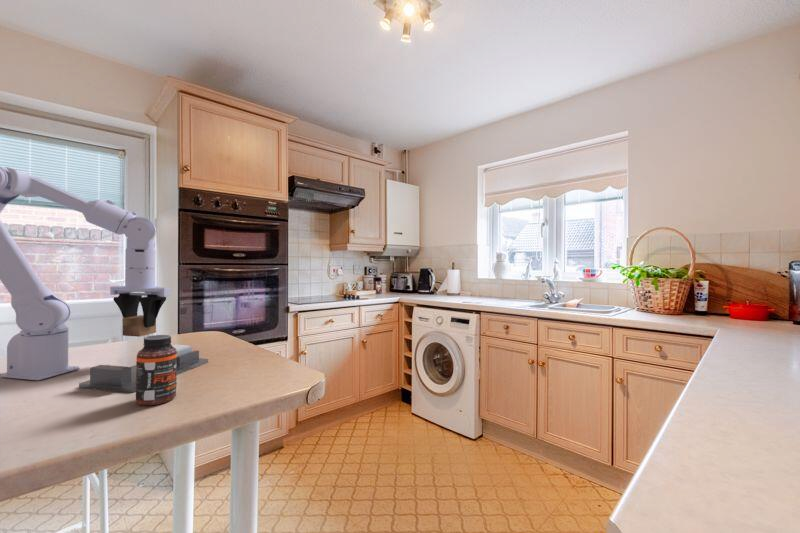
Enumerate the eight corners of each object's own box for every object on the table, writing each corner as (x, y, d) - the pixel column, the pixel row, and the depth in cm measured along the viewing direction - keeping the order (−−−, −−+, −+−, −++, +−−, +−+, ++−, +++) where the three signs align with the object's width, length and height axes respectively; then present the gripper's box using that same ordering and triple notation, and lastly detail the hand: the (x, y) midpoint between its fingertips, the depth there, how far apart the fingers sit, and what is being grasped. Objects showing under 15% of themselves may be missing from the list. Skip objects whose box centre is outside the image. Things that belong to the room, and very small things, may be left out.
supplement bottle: (155, 408, 59) (156, 341, 58) (126, 405, 60) (127, 339, 60) (184, 395, 64) (185, 334, 64) (157, 392, 66) (157, 332, 65)
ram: (157, 362, 80) (157, 349, 80) (174, 357, 85) (174, 343, 85) (175, 364, 80) (175, 350, 79) (191, 358, 84) (192, 345, 84)
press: (78, 387, 67) (79, 366, 67) (164, 358, 87) (164, 343, 87) (132, 392, 65) (133, 371, 65) (208, 362, 85) (208, 345, 85)
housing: (122, 335, 81) (122, 318, 81) (143, 330, 86) (143, 314, 86) (139, 336, 80) (139, 319, 80) (159, 331, 86) (159, 315, 85)
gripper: (181, 269, 85) (180, 324, 86) (129, 267, 88) (129, 321, 88) (156, 269, 78) (156, 329, 79) (101, 268, 81) (101, 326, 81)
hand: (140, 326), depth 83 cm, fingers closed on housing, 4 cm apart
